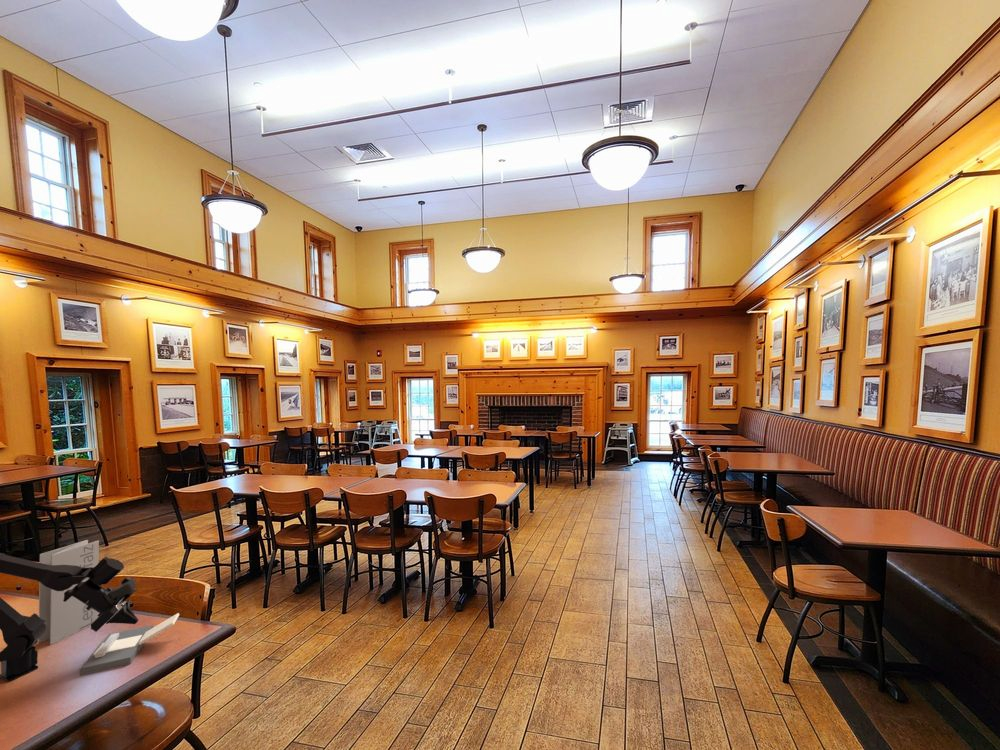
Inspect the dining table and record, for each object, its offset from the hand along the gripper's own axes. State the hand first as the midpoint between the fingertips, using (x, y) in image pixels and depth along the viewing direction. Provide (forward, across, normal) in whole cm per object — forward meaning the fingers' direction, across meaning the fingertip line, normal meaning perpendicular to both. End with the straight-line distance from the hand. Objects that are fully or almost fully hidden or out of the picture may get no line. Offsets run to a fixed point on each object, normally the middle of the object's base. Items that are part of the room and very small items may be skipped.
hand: (136, 622), depth 141 cm
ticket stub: (+5, 0, +3) cm, 6 cm away
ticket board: (+3, 0, +9) cm, 9 cm away
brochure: (-12, +23, +24) cm, 35 cm away
